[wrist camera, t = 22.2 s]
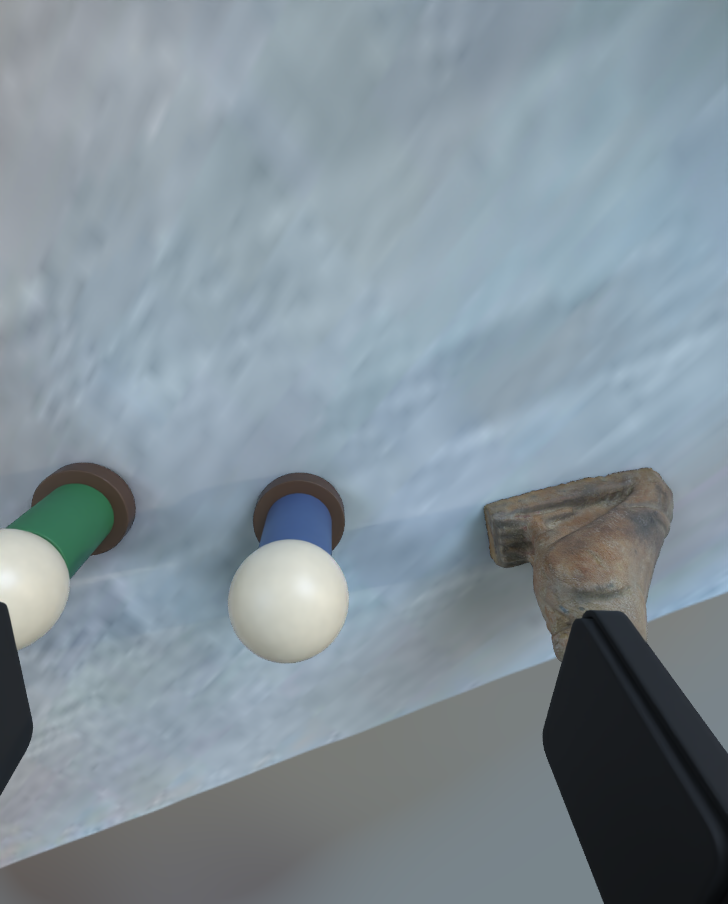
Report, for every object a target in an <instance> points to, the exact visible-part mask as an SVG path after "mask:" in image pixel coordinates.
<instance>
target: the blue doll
mask: <svg viewBox="0 0 728 904" xmlns="http://www.w3.org/2000/svg"><path fill="white" fill-rule="evenodd" d="M344 526H345V517H344V506H343V503H342V500H341V497H340V495H339V494H338V492H337V491H336V489H335V488H334V487H333V486H332V485H331V484H330V483H329V482H327V481H326V480H324V479H322V478H320V477H318V476H316V475H312V474H308V473H291V474H287V475H284V476H281V477H279V478H277V479H275V480H274V481H272V482H271V483H270V484H269V485H268V486H267V487H266V488H265V489H264V490H263V491H262V493H261V495H260V497H259V499H258V502H257V505H256V508H255V511H254V516H253V527H254V532H255V534H256V537H257V539H258V541H259V543H260V544H259V548H258V549H257V550H255V551H254V552H253V553H252V554H250V555H249V556H248V557H247V558H246V559H245V560H244V561H243V563H242V564H241V565H240V567H239V568H238V570H237V571H236V573H235V575H234V577H233V580H232V582H231V585H230V590H229V595H228V612H229V617H230V621H231V625H232V627H233V629H234V631H235V633H236V635H237V637H238V638H239V640H240V641H241V642H242V643H243V645H244V646H245V647H246V648H248V649H249V650H250V651H251V652H253V653H254V654H256V655H257V656H259V657H261V658H263V659H265V660H268V661H272V662H276V663H296V662H301V661H304V660H307V659H310V658H312V657H314V656H316V655H318V654H319V653H321V652H322V651H323V650H325V649H326V648H327V647H328V646H329V645H330V644H331V643H332V642H333V641H334V640H335V638H336V637H337V636H338V634H339V632H340V631H341V629H342V627H343V625H344V622H345V619H346V616H347V612H348V604H349V594H348V587H347V583H346V579H345V577H344V574H343V572H342V570H341V568H340V567H339V565H338V564H337V562H336V561H335V560H334V559H333V558H332V550H333V549H334V548H335V547H336V546H337V544H338V543H339V541H340V539H341V537H342V535H343V531H344Z"/></svg>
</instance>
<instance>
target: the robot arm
mask: <svg viewBox="0 0 728 904" xmlns="http://www.w3.org/2000/svg"><path fill="white" fill-rule="evenodd" d="M32 732H33V722H32V717H31V712H30V708H29V703H28V698H27V694H26V689H25V684H24V680H23V675H22V670H21V666H20V661H19V656H18V652H17V647H16V643H15V638H14V633H13V629H12V624H11V619H10V615H9V610H8V607H7V605H6V604H5V603H4V602H0V795H1V794H2V792H3V790H4V788H5V787H6V785H7V783H8V781H9V780H10V778H11V776H12V774H13V773H14V771H15V769H16V767H17V766H18V764H19V762H20V760H21V759H22V757H23V755H24V754H25V752H26V750H27V748H28V746H29V743H30V741H31V737H32ZM543 745H544V751H545V753H546V757H547V759H548V762H549V764H550V767H551V769H552V772H553V774H554V777H555V779H556V782H557V785H558V787H559V790H560V792H561V795H562V797H563V800H564V803H565V805H566V807H567V810H568V813H569V815H570V818H571V820H572V823H573V826H574V828H575V831H576V833H577V836H578V838H579V841H580V843H581V846H582V849H583V851H584V854H585V856H586V859H587V861H588V864H589V866H590V869H591V872H592V874H593V877H594V879H595V882H596V884H597V887H598V889H599V892H600V895H601V897H602V899H603V902H604V904H728V753H727V752H726V751H725V749H724V748H723V747H722V745H721V744H720V742H719V741H718V740H717V738H716V737H715V736H714V734H713V733H712V732H711V730H710V729H709V727H708V726H707V725H706V724H705V722H704V721H703V719H702V718H701V717H700V715H699V714H698V712H697V711H696V710H695V708H694V707H693V706H692V704H691V703H690V701H689V700H688V699H687V697H686V696H685V695H684V693H683V692H682V691H681V689H680V688H679V686H678V685H677V684H676V682H675V681H674V679H673V678H672V677H671V675H670V674H669V673H668V671H667V670H666V668H665V667H664V666H663V664H662V663H661V662H660V660H659V659H658V658H657V656H656V655H655V653H654V652H653V651H652V649H651V648H650V647H649V645H648V644H647V642H646V641H645V640H644V638H643V637H642V636H641V634H640V633H639V631H638V630H637V629H636V627H635V626H634V625H633V623H632V622H631V620H630V619H629V618H628V616H627V615H626V614H625V613H624V612H621V611H608V610H587V611H586V612H585V613H584V614H583V616H582V618H578V619H575V620H574V622H573V624H572V627H571V631H570V634H569V638H568V642H567V645H566V649H565V652H564V656H563V660H562V664H561V667H560V671H559V674H558V678H557V681H556V686H555V689H554V692H553V696H552V699H551V703H550V707H549V710H548V714H547V718H546V721H545V725H544V729H543Z"/></svg>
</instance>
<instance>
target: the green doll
mask: <svg viewBox="0 0 728 904" xmlns="http://www.w3.org/2000/svg"><path fill="white" fill-rule="evenodd" d="M135 510H136V507H135V501H134V497H133V495H132V492H131V490H130V489H129V487H128V485H127V484H126V483H125V481H124V480H123V479H122V478H121V477H120V476H118V475H117V474H116V473H114V472H113V471H111V470H109V469H107V468H105V467H103V466H100V465H97V464H92V463H74V464H70V465H67V466H64V467H62V468H60V469H59V470H57V471H56V472H54V473H53V474H51V475H50V476H49V477H47V478H46V479H45V480H43V481H42V482H41V484H40V485H39V486H38V487H37V489H36V491H35V493H34V495H33V499H32V505H31V509H29V510H28V511H27V512H26V513H24V514H23V515H22V516H20V517H19V518H18V519H17V520H15V521H14V522H13V523H11V524H10V525H9V526H8V527H6V528H5V529H0V602H4V603H5V604H6V605H7V607H8V610H9V615H10V619H11V624H12V629H13V633H14V638H15V643H16V647H17V651H18V650H21V649H23V648H25V647H27V646H29V645H31V644H33V643H34V642H36V641H37V640H38V639H40V638H41V637H43V636H44V635H45V634H46V633H47V632H48V631H49V630H50V629H51V628H52V627H53V626H54V625H55V623H56V622H57V620H58V619H59V618H60V616H61V614H62V612H63V610H64V608H65V606H66V603H67V600H68V596H69V590H70V579H71V577H72V576H73V575H74V574H75V573H76V572H77V570H78V569H79V568H80V567H81V566H82V565H83V563H84V562H85V561H86V560H87V559H88V558H89V556H91V555H97V554H101V553H104V552H106V551H108V550H110V549H112V548H113V547H115V546H116V545H117V544H118V543H119V542H120V541H121V540H122V538H123V537H124V536H125V535H126V533H127V532H128V531H129V529H130V528H131V526H132V524H133V521H134V518H135Z"/></svg>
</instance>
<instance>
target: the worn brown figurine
mask: <svg viewBox="0 0 728 904" xmlns="http://www.w3.org/2000/svg"><path fill="white" fill-rule="evenodd" d="M620 472H621V471H620ZM620 472H618V473H612V474H611V475H609V474H608V475H607V476H606V477H602V476H598V477H595V478H591V477H588V478H584V479H582V480H581V479H580V478H579V479H580V480H577V481H576V482H574V481H572V482H570V483H567V484H560V485H558V486H554V487H547V488H545V489H540V490H537V491H531V492H529V493H525V494H522V495H520V496H514V497H511V498H509V499H502V500H499V501H497V502H493V503H490V504H487V505H486V506H484V514H485V521H486V528H487V531H488V539H489V544H490V545H489V549H490V555H491V558H492V559H493V560H494V562H495V563H496V565H498V566H500V567H504V568H510V567H514V566H518V565H521V564H524V563H531V565H532V566H533V586H534V592H535V596H536V599H537V602H538V605H539V607H540V610H541V612H542V615H543V617H544V619H545V621H546V625H547V628H548V630H549V632H550V633H551V634H552V643H553V649H554V652H555V655H556V657H557V658H558V660H559V661H561V662H562V660H563V656H564V652H565V649H566V645H567V642H568V638H569V634H570V631H571V627H572V624H573V622H574V620H575V619H578V618H582V616H583V614H584V613H585V612H586V611H587V610H608V611H621V612H624V613H625V614H626V615H627V616H628V618H629V619H630V620H631V622H632V623H633V625H634V626H635V627H636V629H637V630H638V631H639V633H640V634H641V636H642V637H643V638H644V640H645V641H646V642H647V616H646V601H647V597H648V592H649V587H650V583H651V579H652V575H653V572H654V568H655V564H656V562H657V559H658V557H659V553H660V550H661V547H662V545H663V542H664V539H665V538H666V536H667V535H668V533H669V530H670V523H671V521H672V518H673V494H672V491H671V490H670V488H669V487H668V486H667V485H666V483H665V482H664V481H663V480H662V478H661V477H660V475H659V474H658V473H657V472H655V471H653V470H652V468H650V469H649V468H641V469H638V470H637V469H636V470H630V471H625V472H624V471H622V472H621V473H620Z"/></svg>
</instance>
